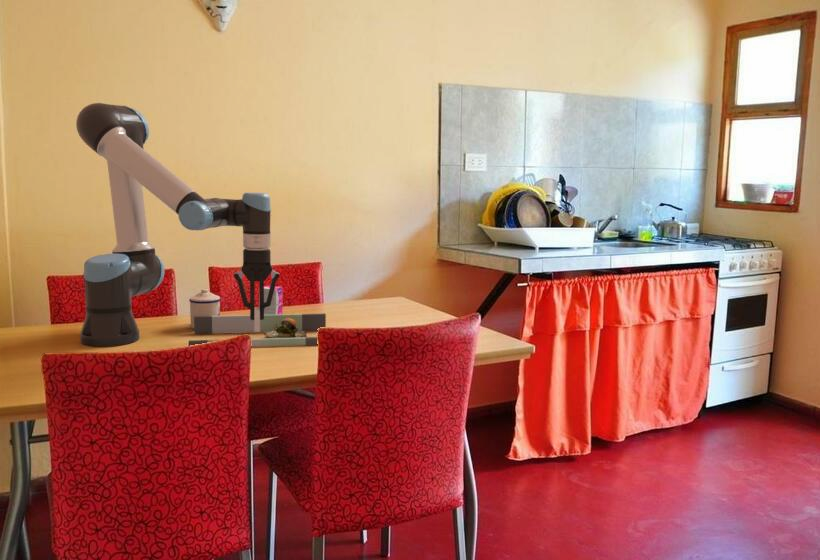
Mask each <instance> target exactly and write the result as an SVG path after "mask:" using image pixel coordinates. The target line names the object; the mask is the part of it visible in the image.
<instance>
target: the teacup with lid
mask: <svg viewBox="0 0 820 560" xmlns="http://www.w3.org/2000/svg"><path fill="white" fill-rule="evenodd" d="M220 301H221V296H219V295H216V294H214V293H212V292H209V289H207V288H202V289H201V290H200V292H198V293H196V294H195V295H191V296H190V297H189V300H188V302H189V306H190V308H189V309H190V311H189V314H190V315H189V317H190V327H191V329H193V330H194V316H221V302H220Z"/></svg>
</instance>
